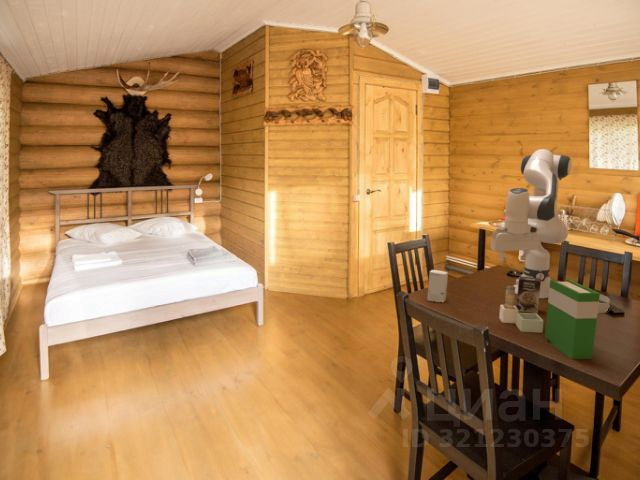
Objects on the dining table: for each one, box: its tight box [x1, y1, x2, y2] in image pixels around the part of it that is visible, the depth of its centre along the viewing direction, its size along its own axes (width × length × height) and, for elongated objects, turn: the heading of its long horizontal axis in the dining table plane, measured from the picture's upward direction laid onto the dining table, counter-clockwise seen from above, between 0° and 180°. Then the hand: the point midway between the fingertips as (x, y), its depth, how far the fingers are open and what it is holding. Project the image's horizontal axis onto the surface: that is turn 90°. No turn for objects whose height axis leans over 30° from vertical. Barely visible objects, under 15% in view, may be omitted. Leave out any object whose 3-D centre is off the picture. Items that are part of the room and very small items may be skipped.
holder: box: [515, 312, 545, 334], centre depth 181 cm, size 8×8×6 cm
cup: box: [498, 304, 519, 324], centre depth 190 cm, size 6×6×7 cm
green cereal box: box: [544, 279, 601, 360], centre depth 163 cm, size 18×7×24 cm, turn 3°
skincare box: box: [426, 269, 449, 304], centre depth 219 cm, size 8×6×15 cm
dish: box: [597, 293, 611, 314], centre depth 212 cm, size 22×22×5 cm
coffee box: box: [515, 275, 541, 315], centre depth 202 cm, size 9×6×16 cm
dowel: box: [504, 285, 516, 309], centre depth 189 cm, size 4×4×15 cm
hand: (513, 260), depth 185 cm, fingers open, 8 cm apart
